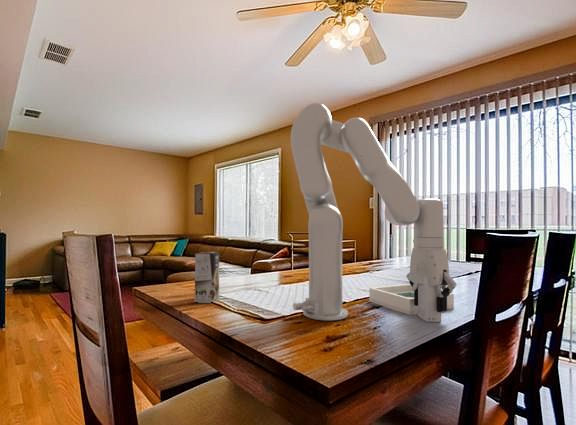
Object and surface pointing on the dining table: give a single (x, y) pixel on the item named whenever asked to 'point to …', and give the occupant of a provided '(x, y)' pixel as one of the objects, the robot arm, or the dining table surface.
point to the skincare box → (428, 302)
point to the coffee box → (206, 277)
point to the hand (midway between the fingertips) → (430, 307)
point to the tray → (399, 298)
